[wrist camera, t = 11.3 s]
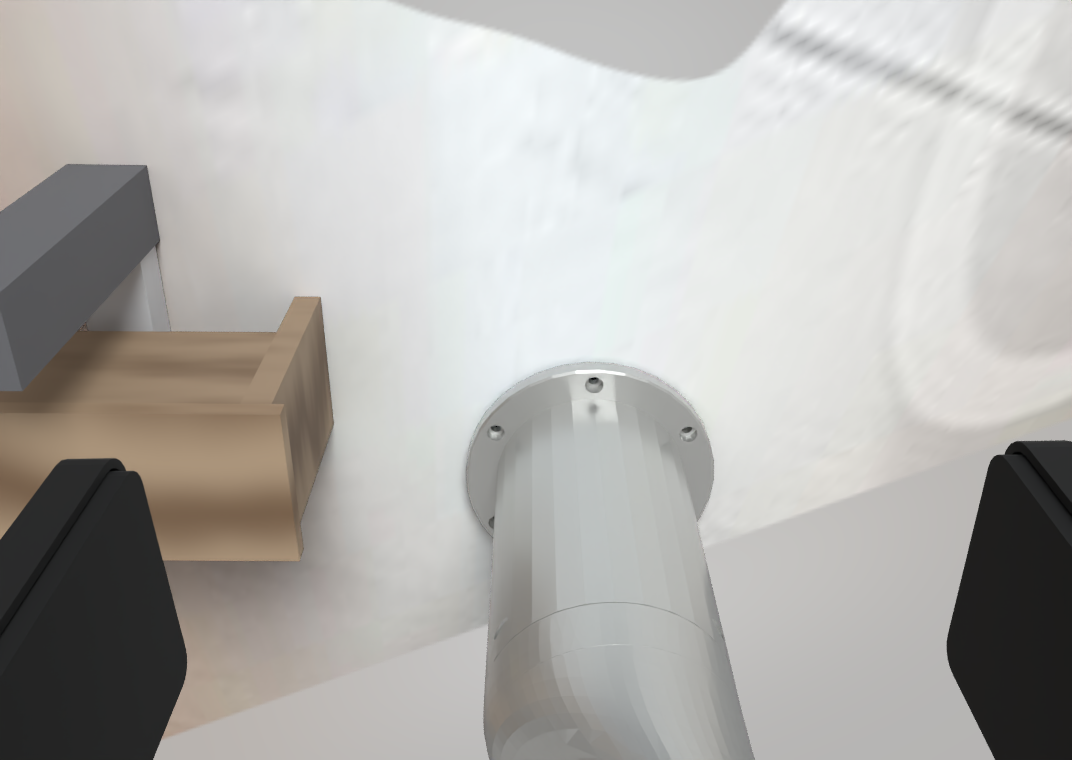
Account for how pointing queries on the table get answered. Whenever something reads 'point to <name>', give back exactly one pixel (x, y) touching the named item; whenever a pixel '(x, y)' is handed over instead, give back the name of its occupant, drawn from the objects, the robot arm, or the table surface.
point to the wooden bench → (185, 430)
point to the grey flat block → (76, 265)
